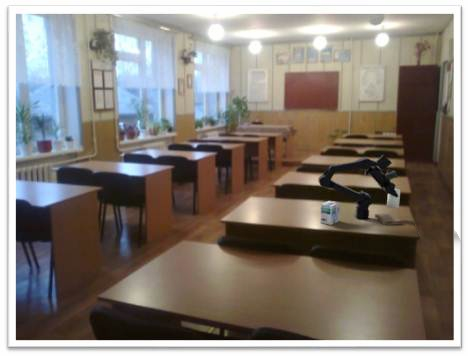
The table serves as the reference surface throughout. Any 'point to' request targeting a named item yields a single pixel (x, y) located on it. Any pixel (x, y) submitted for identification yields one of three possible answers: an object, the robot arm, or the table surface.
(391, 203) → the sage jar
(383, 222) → the walnut base block
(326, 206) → the light bulb box
